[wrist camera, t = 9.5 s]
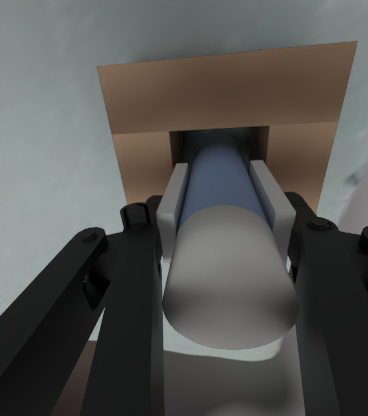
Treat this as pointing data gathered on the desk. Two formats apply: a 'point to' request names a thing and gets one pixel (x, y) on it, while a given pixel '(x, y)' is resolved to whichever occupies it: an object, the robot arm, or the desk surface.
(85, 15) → the desk surface
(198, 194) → the marker
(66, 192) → the desk surface
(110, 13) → the desk surface
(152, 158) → the socket block
